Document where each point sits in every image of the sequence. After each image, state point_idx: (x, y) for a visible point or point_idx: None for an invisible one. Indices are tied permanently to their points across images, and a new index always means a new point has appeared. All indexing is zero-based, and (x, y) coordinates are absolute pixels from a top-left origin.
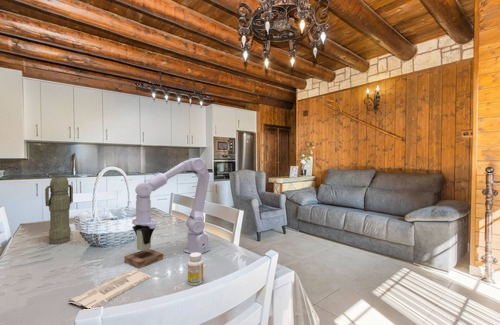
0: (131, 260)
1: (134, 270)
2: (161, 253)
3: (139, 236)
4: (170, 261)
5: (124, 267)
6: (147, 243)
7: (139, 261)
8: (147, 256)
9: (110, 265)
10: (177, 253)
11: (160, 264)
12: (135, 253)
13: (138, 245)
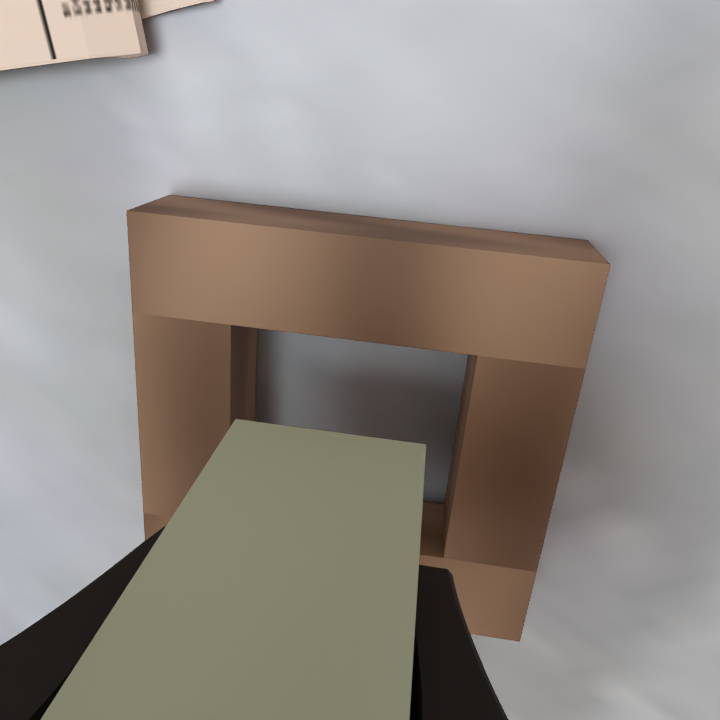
0: (361, 231)
1: (40, 50)
2: None
3: (246, 645)
4: (49, 517)
5: (405, 114)
6: None
7: (155, 240)
8: None
9: (716, 35)
10: None
11: (64, 413)
12: (531, 431)
13: (353, 482)
